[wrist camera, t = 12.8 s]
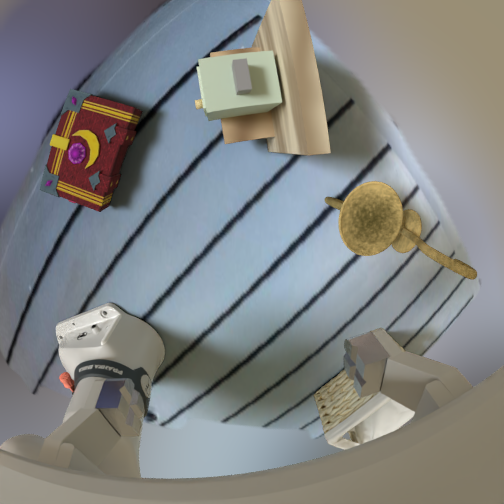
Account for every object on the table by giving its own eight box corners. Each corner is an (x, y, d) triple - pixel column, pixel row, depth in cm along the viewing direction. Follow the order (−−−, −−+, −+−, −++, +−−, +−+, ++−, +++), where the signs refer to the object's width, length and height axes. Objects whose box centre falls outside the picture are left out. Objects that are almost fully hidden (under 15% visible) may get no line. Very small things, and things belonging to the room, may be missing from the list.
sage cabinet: (200, 122, 31) (194, 112, 21) (193, 80, 29) (185, 55, 19) (267, 112, 31) (287, 99, 22) (260, 70, 29) (277, 43, 20)
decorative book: (145, 111, 35) (136, 106, 30) (109, 214, 39) (97, 222, 34) (82, 93, 32) (68, 88, 27) (52, 191, 36) (35, 197, 32)
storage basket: (388, 323, 53) (425, 367, 40) (414, 352, 59) (445, 390, 45) (305, 394, 57) (323, 445, 44) (342, 412, 63) (362, 455, 49)
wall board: (226, 158, 38) (234, 165, 22) (208, 54, 32) (206, -7, 16) (295, 148, 39) (351, 151, 22) (278, 46, 33) (319, -10, 16)
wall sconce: (392, 193, 43) (510, 242, 20) (373, 244, 46) (473, 322, 23) (322, 163, 40) (439, 192, 17) (302, 221, 43) (391, 307, 20)
